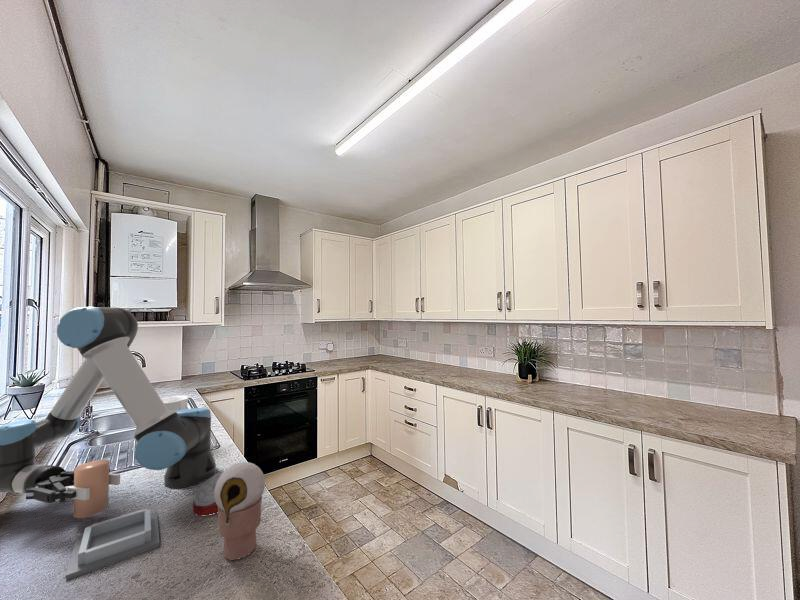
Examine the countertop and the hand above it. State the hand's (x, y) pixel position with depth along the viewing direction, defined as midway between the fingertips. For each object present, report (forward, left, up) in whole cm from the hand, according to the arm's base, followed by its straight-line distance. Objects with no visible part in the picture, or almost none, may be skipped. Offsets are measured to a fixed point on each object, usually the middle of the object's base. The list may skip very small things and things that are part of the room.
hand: (103, 486), depth 89 cm
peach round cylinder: (+3, -3, -7) cm, 8 cm away
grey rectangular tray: (-4, +13, -10) cm, 17 cm away
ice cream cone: (-27, +35, -10) cm, 45 cm away
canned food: (-25, +10, -10) cm, 28 cm away
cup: (-18, -45, -10) cm, 49 cm away
